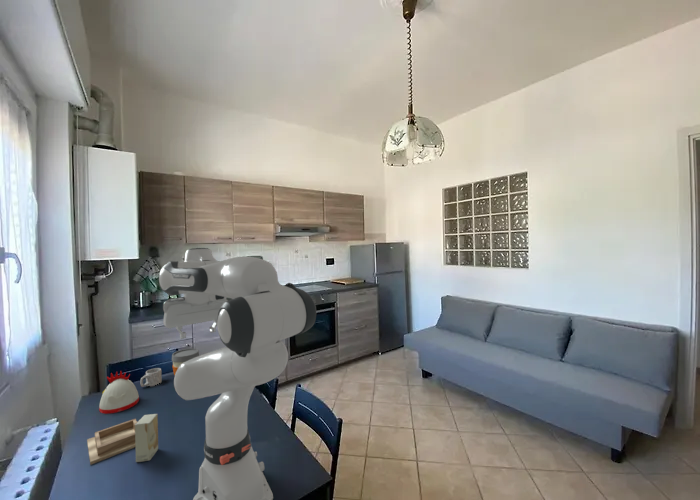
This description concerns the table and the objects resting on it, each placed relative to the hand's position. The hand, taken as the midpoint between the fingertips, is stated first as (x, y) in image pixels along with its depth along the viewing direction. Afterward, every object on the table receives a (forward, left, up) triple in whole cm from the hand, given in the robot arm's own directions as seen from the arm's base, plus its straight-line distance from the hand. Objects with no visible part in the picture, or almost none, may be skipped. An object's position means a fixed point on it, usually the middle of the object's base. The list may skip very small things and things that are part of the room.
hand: (198, 335), depth 102 cm
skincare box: (+9, +14, -39) cm, 42 cm away
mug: (+70, +2, -39) cm, 80 cm away
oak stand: (+25, +20, -39) cm, 50 cm away
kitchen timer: (+57, +16, -39) cm, 71 cm away
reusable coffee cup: (+61, -12, -39) cm, 73 cm away
